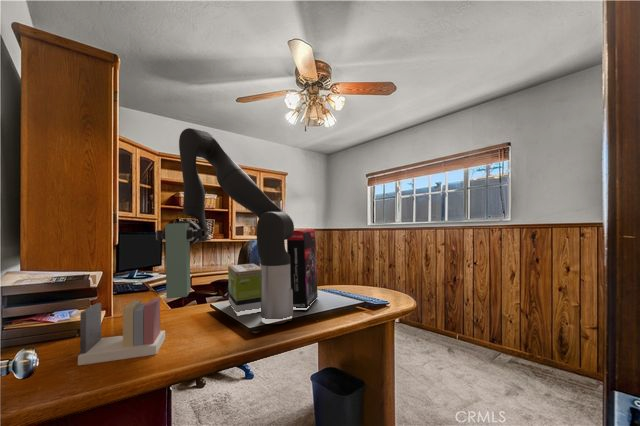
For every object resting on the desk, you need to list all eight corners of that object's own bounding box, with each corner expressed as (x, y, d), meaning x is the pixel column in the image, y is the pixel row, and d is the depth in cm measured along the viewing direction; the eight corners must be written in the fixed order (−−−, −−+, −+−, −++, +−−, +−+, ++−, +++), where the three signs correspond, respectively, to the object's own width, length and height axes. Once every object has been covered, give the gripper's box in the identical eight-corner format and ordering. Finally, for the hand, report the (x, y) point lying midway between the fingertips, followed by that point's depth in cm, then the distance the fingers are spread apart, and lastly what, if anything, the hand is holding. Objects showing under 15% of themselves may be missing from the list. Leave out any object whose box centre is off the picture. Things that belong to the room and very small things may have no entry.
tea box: (227, 305, 105) (227, 265, 106) (255, 301, 110) (254, 262, 110) (236, 317, 92) (235, 270, 92) (266, 312, 96) (266, 268, 97)
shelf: (165, 338, 76) (165, 296, 76) (156, 354, 66) (156, 306, 67) (97, 346, 71) (98, 302, 72) (77, 365, 62) (78, 313, 62)
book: (190, 290, 77) (189, 223, 77) (187, 296, 70) (185, 223, 71) (172, 292, 76) (170, 223, 76) (166, 298, 69) (165, 223, 69)
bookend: (100, 339, 71) (101, 302, 71) (85, 353, 63) (85, 312, 64) (96, 340, 71) (96, 303, 71) (80, 354, 63) (80, 312, 63)
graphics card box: (307, 312, 95) (305, 230, 96) (287, 311, 96) (285, 230, 97) (318, 298, 112) (316, 228, 113) (300, 298, 113) (299, 229, 114)
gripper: (160, 221, 86) (144, 221, 70) (211, 220, 90) (207, 219, 74) (160, 247, 86) (144, 252, 69) (211, 244, 90) (208, 248, 74)
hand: (177, 235), depth 72 cm, fingers closed on book, 4 cm apart
